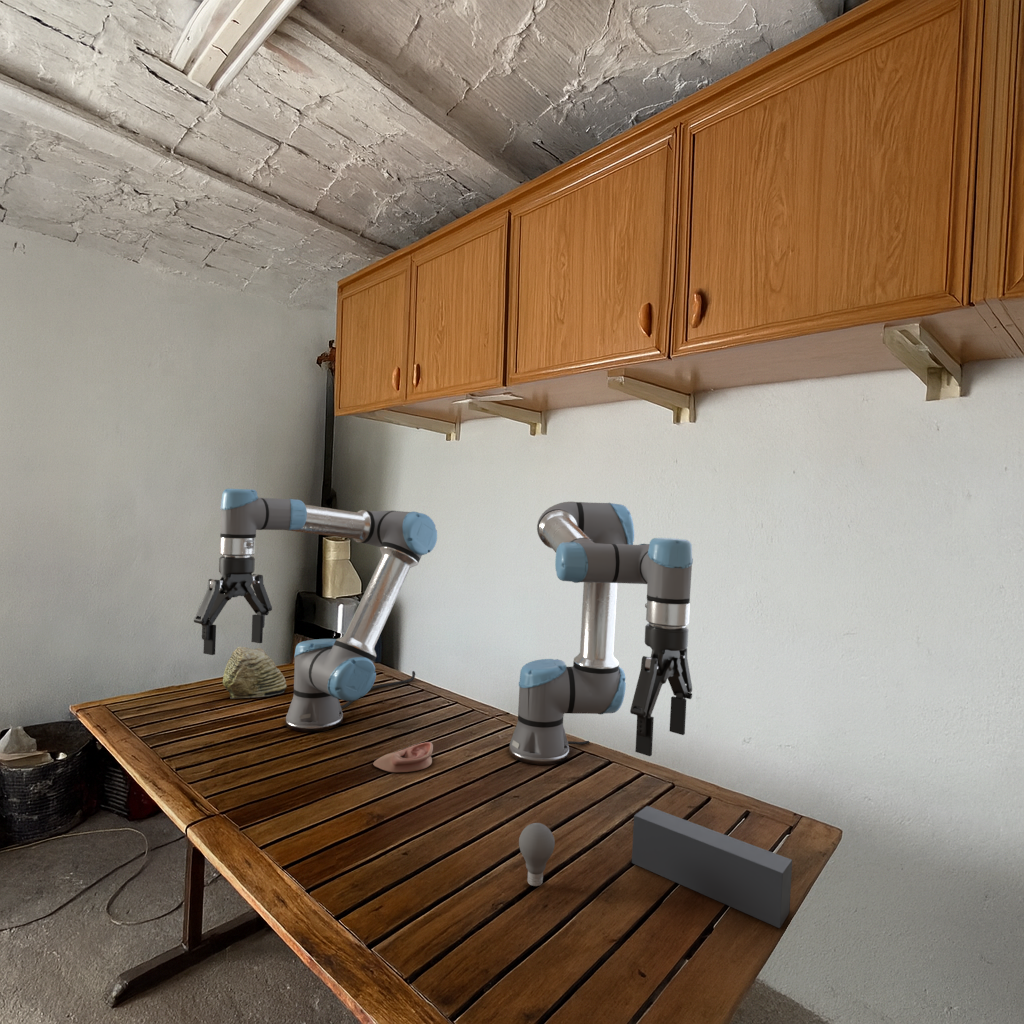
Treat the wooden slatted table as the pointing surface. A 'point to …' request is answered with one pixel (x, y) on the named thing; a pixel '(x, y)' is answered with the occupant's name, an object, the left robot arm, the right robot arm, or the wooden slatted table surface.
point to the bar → (713, 864)
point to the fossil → (252, 674)
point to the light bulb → (536, 850)
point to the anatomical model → (407, 759)
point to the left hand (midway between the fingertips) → (234, 648)
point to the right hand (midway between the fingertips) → (661, 742)
